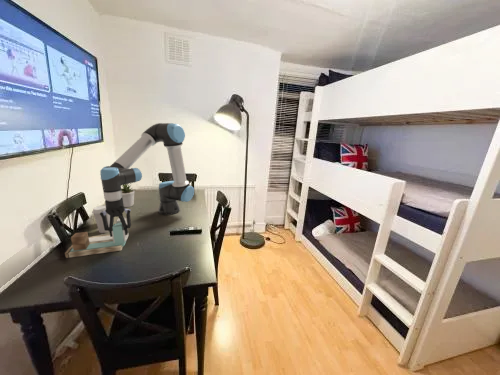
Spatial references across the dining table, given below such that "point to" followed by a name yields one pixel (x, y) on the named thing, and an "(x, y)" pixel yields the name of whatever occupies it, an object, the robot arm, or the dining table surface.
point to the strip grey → (105, 238)
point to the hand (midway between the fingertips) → (120, 240)
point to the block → (80, 241)
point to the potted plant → (127, 195)
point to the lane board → (92, 251)
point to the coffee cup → (100, 218)
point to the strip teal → (118, 241)
